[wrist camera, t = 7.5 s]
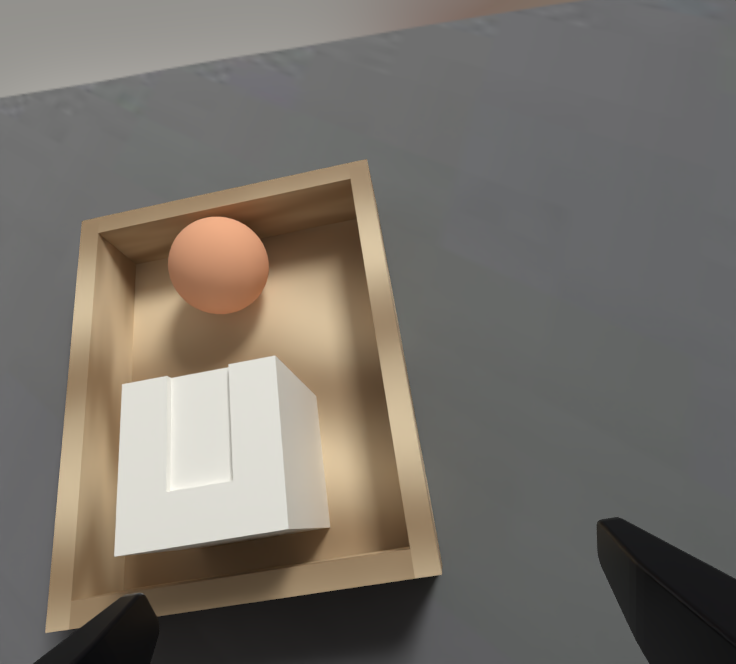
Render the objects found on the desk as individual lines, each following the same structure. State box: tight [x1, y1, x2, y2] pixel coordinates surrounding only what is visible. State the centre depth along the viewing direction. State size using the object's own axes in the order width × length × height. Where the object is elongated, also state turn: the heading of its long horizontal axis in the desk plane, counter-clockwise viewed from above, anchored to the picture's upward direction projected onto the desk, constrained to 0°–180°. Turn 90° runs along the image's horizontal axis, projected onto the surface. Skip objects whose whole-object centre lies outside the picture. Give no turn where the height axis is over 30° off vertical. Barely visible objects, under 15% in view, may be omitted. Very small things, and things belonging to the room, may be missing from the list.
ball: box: [168, 217, 269, 314], centre depth 21 cm, size 4×4×4 cm
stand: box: [114, 356, 330, 557], centre depth 17 cm, size 5×5×6 cm
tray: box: [45, 159, 442, 633], centre depth 20 cm, size 16×13×3 cm
